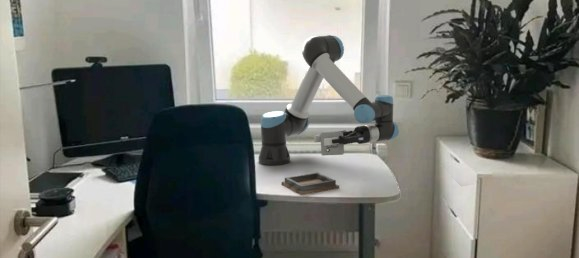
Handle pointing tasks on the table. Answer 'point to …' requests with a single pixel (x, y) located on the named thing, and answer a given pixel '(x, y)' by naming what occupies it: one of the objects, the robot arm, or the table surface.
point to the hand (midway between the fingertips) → (319, 140)
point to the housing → (310, 183)
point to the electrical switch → (333, 149)
